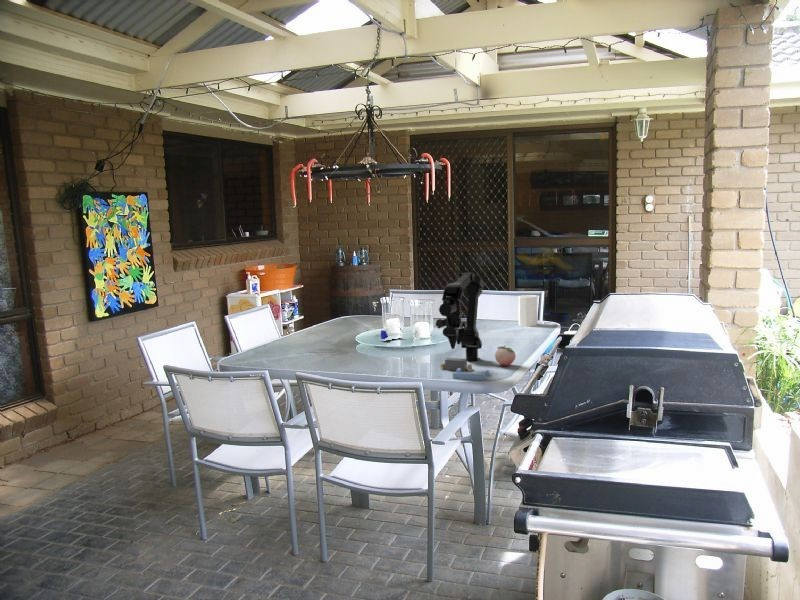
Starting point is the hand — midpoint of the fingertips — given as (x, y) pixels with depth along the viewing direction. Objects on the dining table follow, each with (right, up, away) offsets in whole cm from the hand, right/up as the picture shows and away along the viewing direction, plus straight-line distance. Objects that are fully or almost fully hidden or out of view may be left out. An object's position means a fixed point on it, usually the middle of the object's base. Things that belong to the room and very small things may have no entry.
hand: (455, 346), depth 280 cm
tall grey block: (0, -11, +2) cm, 11 cm away
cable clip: (-31, -2, +77) cm, 83 cm away
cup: (+53, +5, +100) cm, 113 cm away
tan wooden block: (0, -11, +1) cm, 11 cm away
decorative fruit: (+23, -10, +3) cm, 25 cm away
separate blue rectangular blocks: (+6, -12, -12) cm, 18 cm away
